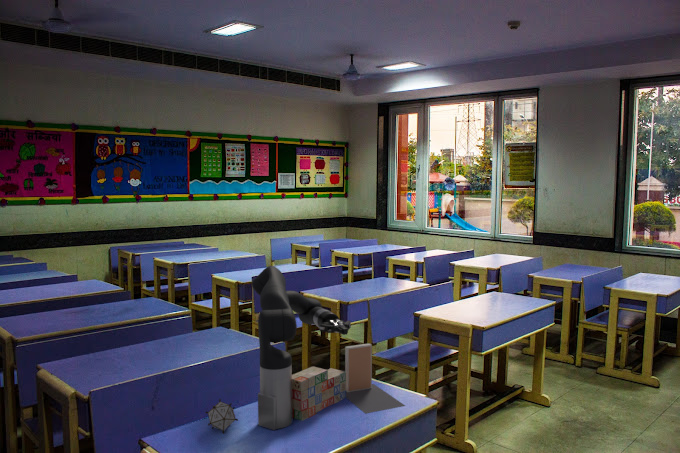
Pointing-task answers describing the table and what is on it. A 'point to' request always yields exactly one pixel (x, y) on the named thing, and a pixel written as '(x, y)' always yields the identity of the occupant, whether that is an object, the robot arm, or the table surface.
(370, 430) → the table surface
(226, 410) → the game die
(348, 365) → the tile
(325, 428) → the table surface
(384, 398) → the mat
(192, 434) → the table surface
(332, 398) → the stack of blocks
